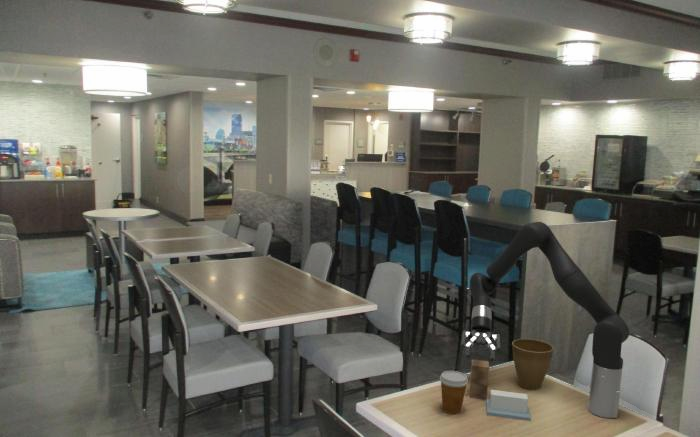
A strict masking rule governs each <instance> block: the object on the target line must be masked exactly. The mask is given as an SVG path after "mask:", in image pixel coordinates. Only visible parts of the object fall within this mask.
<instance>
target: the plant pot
mask: <svg viewBox="0 0 700 437" xmlns="http://www.w3.org/2000/svg"><path fill="white" fill-rule="evenodd" d="M511 347H512V355H513V364H514V369H515V374H516V376H517V377H516V378H517V380H518V384H519V385H520V386H521V387H522V388H524V389H529V390H538V389H540V387H541V385H542V384H543V382H544V380H545V378H546V376H547V373H548V370H549V367H550V364H551V361H552V358H553V355H554V354H553V352H554V349H555V348H554V346H553V345H551V344H550V343H548V342H546V341H542V340H538V339H533V338H519V339H515V340H513V341H512V343H511Z"/></svg>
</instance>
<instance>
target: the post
mask: <svg viewBox="0 0 700 437" xmlns="http://www.w3.org/2000/svg"><path fill="white" fill-rule="evenodd" d="M489 372H490V363H489V360H480V359H471V366H470V375H469V377H470V378H469V390H468V391H469V398H470V399H472V398H473V399H478V400H484V401H485V400H486V399H488V388H489V375H490V374H489Z"/></svg>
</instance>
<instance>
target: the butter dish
mask: <svg viewBox="0 0 700 437" xmlns="http://www.w3.org/2000/svg"><path fill="white" fill-rule="evenodd" d="M489 394H490V395H489V398H487V399H486V401H485V403H486V404H485V405H486V415H487V416H492V417H500V418H506V419H515V420H522V421H531V419H532V417H531V413H530V407H529V404H528V403H529V396H528V395H527V393H520V392H511V391H504V390H498V389H497V390H496V389H490V393H489Z"/></svg>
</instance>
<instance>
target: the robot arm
mask: <svg viewBox="0 0 700 437" xmlns="http://www.w3.org/2000/svg"><path fill="white" fill-rule="evenodd" d="M535 248H538V249H539V250H540V251H541V252H542V253H543V255H544V256H545V257H546V259H547V260H548V263H549V264H550V268H551V271H552V275H553V277H554V280H555V281H556V283H557V285H558V286H559V287H560V288H561V290H562V291H563V292H564V294H565V295H566V296H567V297H568V298H569V299H571V300H572V301H573V302H575V303H576V304H577V305H579V306H580V307H582V309H584V310H585V311H586V312H587V313H588V314H590V316H591V318H592V319H594V321H595V322H596V325H595V326H594V329H593V333H592V334H593V335H592V347H591V348H592V350H591V353H592V358H593V359H592V367H591V368H592V370H591V378H590V388H589V389H590V390H589V397H588V407H587V408H588V411H589V412H590V413H592V414H593V415H595V416H598V417H601V418H605V419H613V418H614V419H618V413H619V404H620V395H621V383H622V376H623V367H624V359H623V358H622V344H623V343H624V342H626V341H627V340H628V338H629V336H630V329H629V326H628V324H627V323H626V321H625V320H624V319H623V318H622V317H621V316H620V315H619V314H618V313H617V311H615V310H614V309H613V308H612V307H611V306H610V305H609V304H608V302H606V300H605V299H604V298H603V296H602V295H601V294H600V293H599V291H598V290H597V289H596V288H595V286H594V285H593V284H592V282H591V281H590V279H589V278H588V277H587V276H586V275H585V273H584V272H583V271H582V270H581V269H580V267H579V266H578V265H577V264H576V262H575V261H574V260H573V259H572V258H571V256H570V255H569V254H568V253H567V252H566V250H565V249H564V248H563V246H562V245H561V243H560V242H559V240H558V239H557V237H556V235H555V234H554V232H553V231H552V230H551V228H550V227H549V226H548V225H547V224H546V223H544V222H543V221H534V222H529V223H526V224H524V225H523V226H521V228H520V229H519V230H518V231H517V233H516V234H515V236H514V237H513V239H512V240H511V241H510V243H509V244H508V245H507V247H505V249H504V250H503V251H502V252H501V254H499V255H498V256H497V257H496V258H495V259H494V260H493V261H492V262H491V263H489V265H488V266H487V267H486V273H487V275H486V274H484V273H481V272H474V273H473V274H472V275H471V276H470V278H469V288H470V293H471V297H472V312H471V324H470V331H466V330H465V329H463V331H462V336H461V344H460V347H461V348H464V349H465V354H464V355H465V357H466V359H470V350H471V347H473V345H474V344H475V345H477V346H478V345H479V346H480V345H481V346H485V345H486V347H487V348H488V349H489V350H490V362H493V361H494V360H495V357H496V352H499V351H500V349H501V336H500V334H499V333H496V334H493V333H492V322H493V321H492V319H493V318H492V298H491V297H490V295H491V294H493V293H494V292H495V291H496V290H497V287H498V285H499V284H500V282H501V281H502V279H503V278H504V277H505V276H506V275H507V274H508V273H509V272H511V270H513V268H514V267H515V265H516V263H517V262H518V260H519V259H520V258H521V257H522V256H523V255H524V254H526V253H527V252H529V251H530V250H532V249H535ZM468 337H469V338H470V339H469V340H468V342H467V343H466V338H468ZM492 339H493V341H494V342H495V345H494V343H493V342H492V341H491V340H492Z"/></svg>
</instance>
